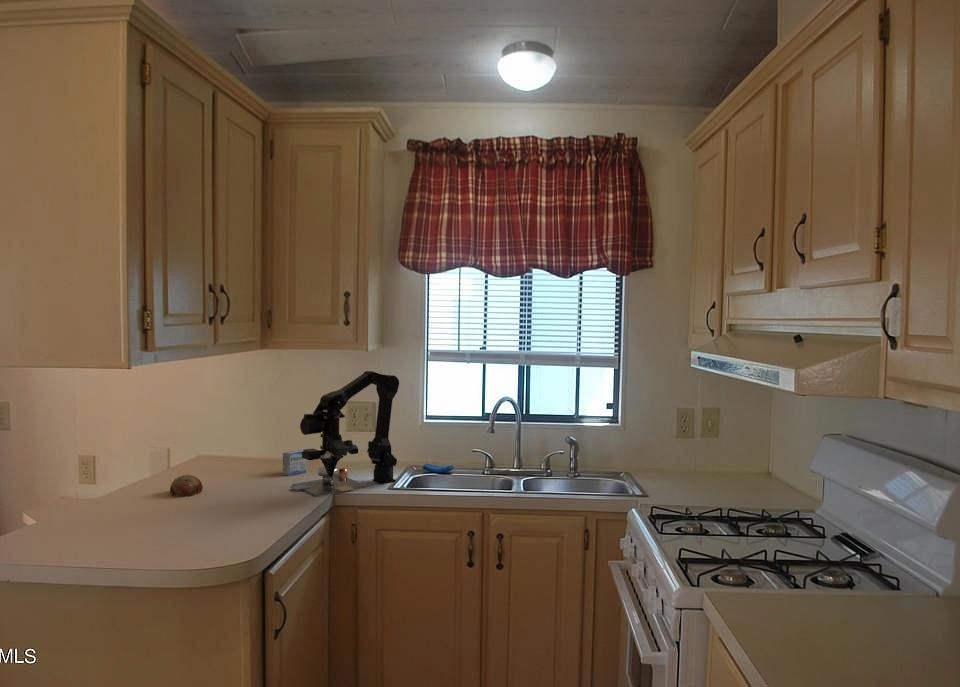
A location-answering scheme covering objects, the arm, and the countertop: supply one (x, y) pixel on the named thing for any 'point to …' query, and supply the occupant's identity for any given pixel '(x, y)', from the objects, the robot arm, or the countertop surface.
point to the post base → (327, 486)
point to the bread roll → (186, 486)
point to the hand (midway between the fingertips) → (330, 476)
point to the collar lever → (339, 475)
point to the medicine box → (293, 463)
